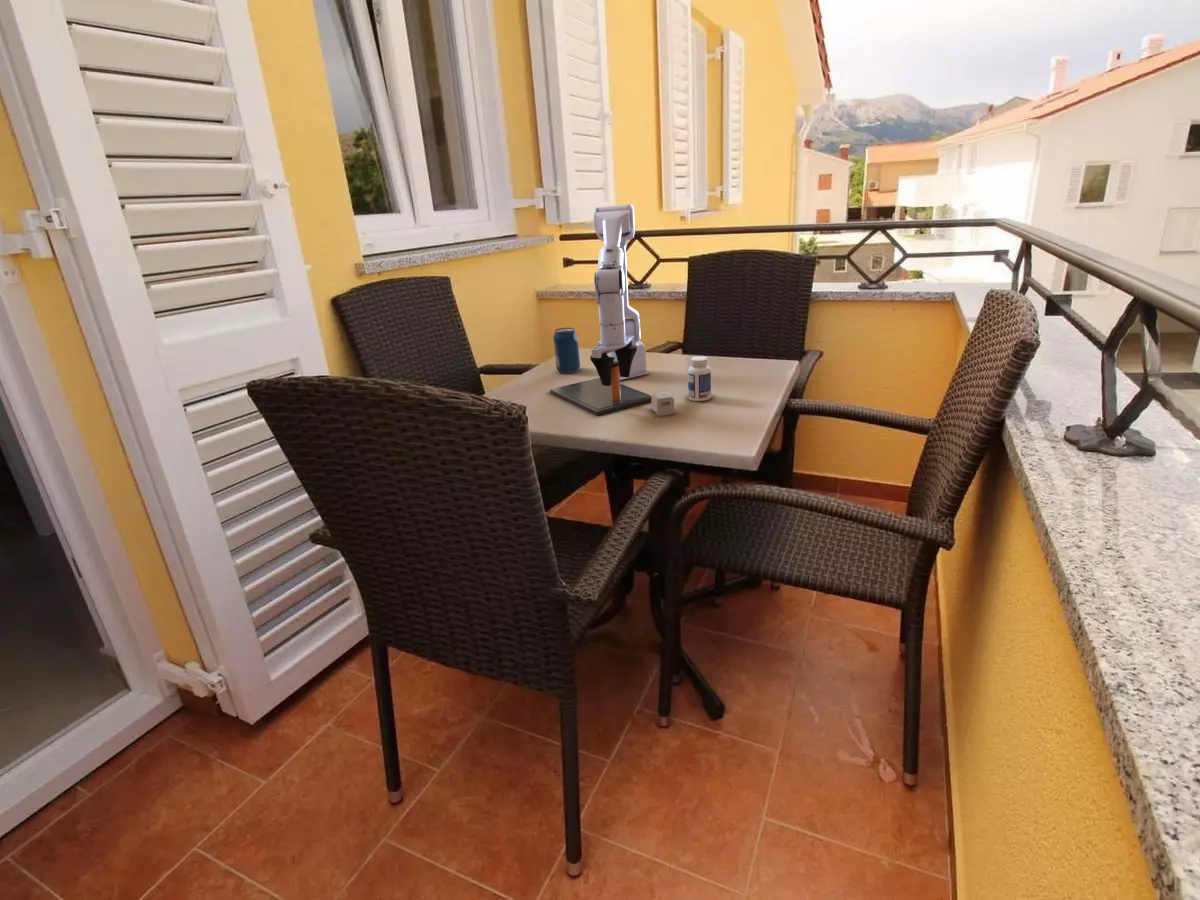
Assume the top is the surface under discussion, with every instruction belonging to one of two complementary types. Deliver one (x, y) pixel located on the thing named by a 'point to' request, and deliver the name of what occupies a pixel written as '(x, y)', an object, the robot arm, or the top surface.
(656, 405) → the usb wall charger
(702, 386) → the pill bottle
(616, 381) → the orange marker
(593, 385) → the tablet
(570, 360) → the soda can
